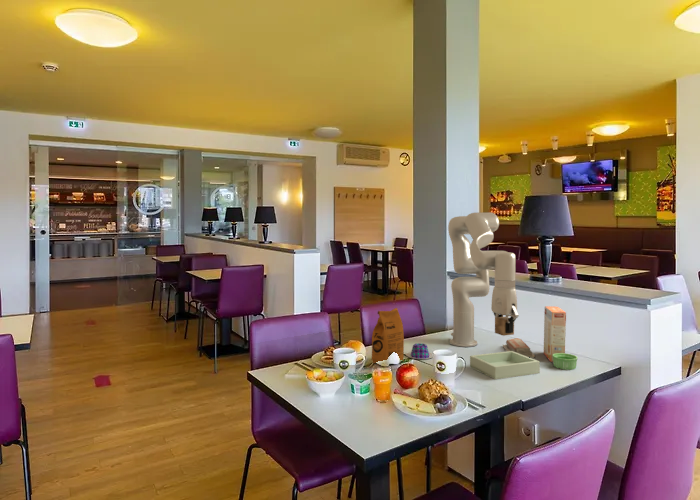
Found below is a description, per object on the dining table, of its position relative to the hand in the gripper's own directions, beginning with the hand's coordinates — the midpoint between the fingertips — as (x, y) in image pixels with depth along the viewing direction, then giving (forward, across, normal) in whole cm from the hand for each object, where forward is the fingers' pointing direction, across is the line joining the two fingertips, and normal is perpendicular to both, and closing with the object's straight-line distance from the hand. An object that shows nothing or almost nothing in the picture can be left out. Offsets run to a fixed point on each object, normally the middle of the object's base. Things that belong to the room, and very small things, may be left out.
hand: (504, 330), depth 182 cm
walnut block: (+1, 0, 0) cm, 1 cm away
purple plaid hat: (+16, -29, -21) cm, 39 cm away
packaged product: (+16, -20, +23) cm, 34 cm away
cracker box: (+16, -6, +30) cm, 34 cm away
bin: (+15, 0, 0) cm, 15 cm away
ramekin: (+16, +5, +25) cm, 30 cm away
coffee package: (+16, -25, -38) cm, 48 cm away
